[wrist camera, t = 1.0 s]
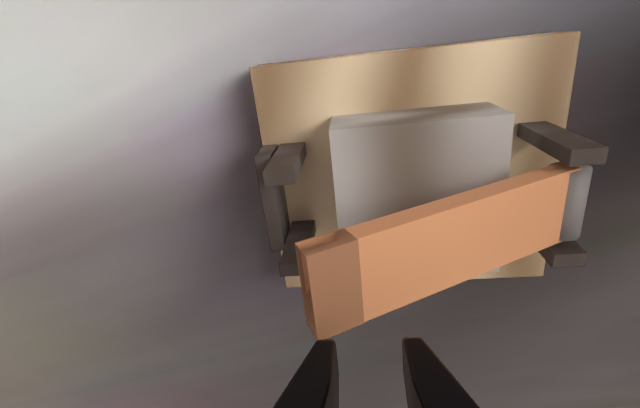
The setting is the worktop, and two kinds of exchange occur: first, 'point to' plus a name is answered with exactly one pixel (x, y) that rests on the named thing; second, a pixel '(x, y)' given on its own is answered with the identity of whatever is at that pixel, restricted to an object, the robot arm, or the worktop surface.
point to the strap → (436, 245)
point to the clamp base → (413, 84)
